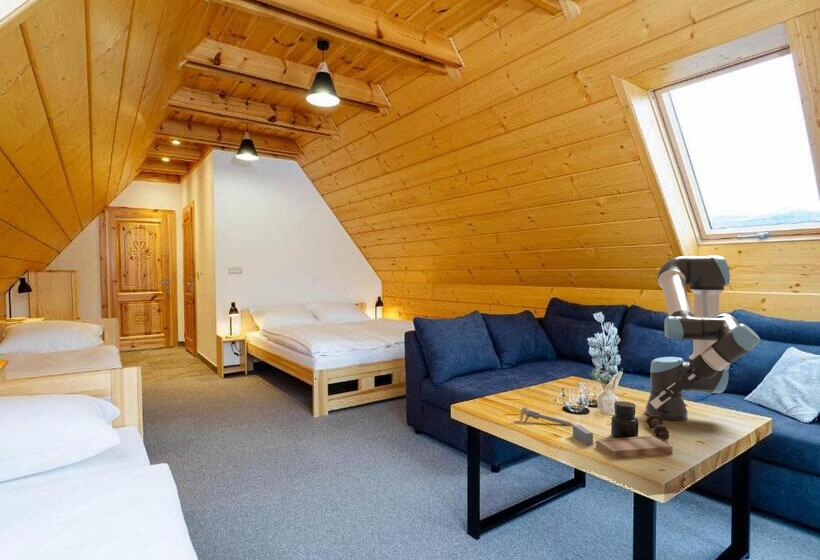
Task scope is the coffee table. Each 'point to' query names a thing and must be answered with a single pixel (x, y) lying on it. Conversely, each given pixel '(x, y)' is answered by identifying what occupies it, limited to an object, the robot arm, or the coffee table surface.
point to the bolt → (657, 427)
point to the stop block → (583, 434)
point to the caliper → (542, 416)
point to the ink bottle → (624, 420)
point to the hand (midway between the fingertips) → (657, 401)
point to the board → (634, 447)
